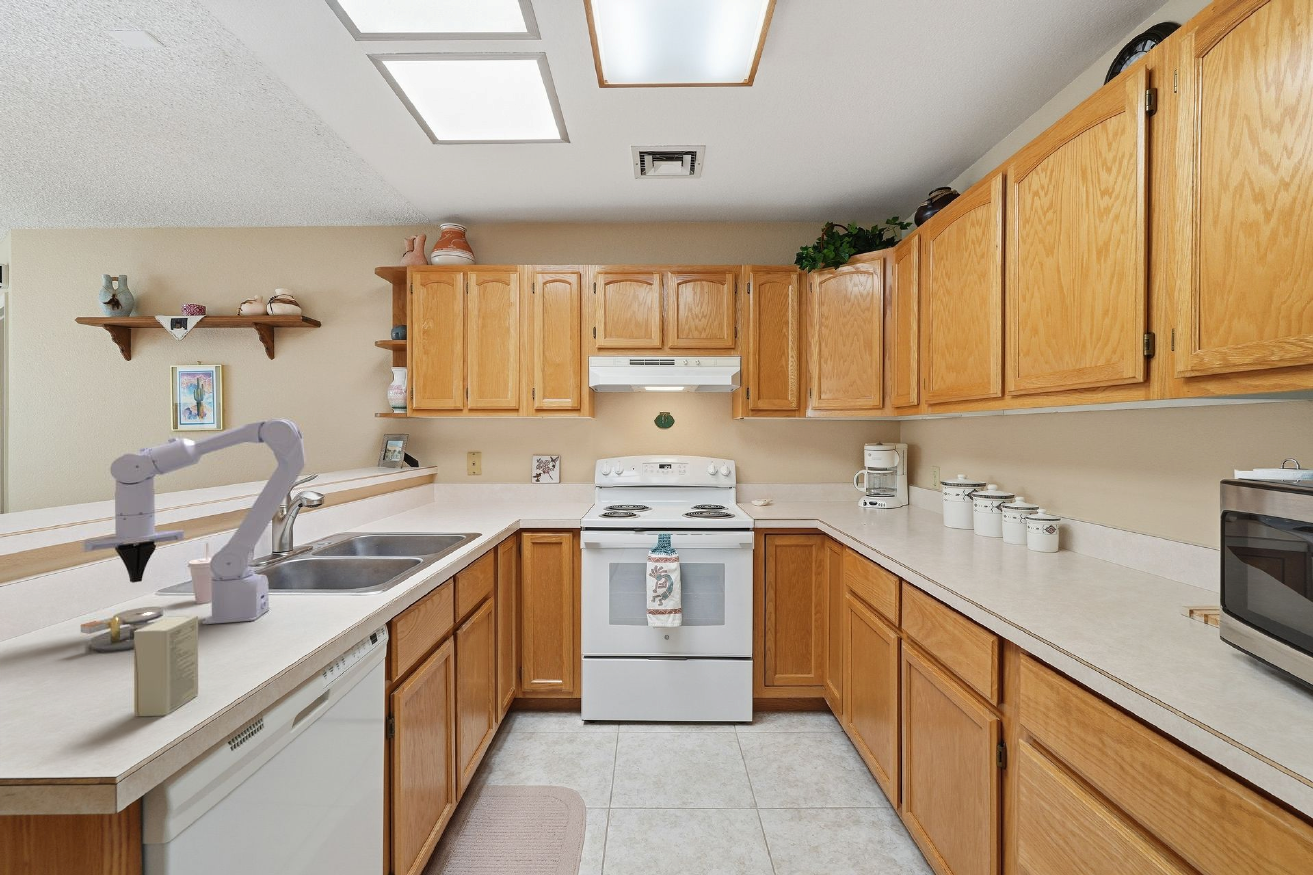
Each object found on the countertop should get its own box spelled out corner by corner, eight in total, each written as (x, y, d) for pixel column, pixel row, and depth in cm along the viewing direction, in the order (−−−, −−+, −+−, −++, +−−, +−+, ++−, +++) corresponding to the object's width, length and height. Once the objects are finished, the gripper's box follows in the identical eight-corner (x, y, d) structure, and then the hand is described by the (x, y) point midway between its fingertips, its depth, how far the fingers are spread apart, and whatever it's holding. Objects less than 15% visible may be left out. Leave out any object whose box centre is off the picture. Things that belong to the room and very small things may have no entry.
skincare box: (168, 696, 81) (168, 615, 81) (200, 695, 82) (200, 614, 82) (132, 718, 75) (131, 630, 75) (166, 716, 75) (165, 629, 75)
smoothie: (203, 606, 124) (202, 545, 124) (180, 604, 125) (180, 544, 125) (230, 597, 130) (230, 539, 130) (208, 596, 132) (208, 538, 132)
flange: (147, 611, 109) (147, 604, 109) (172, 614, 107) (172, 607, 107) (72, 631, 98) (72, 623, 98) (98, 635, 96) (98, 627, 96)
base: (198, 624, 112) (197, 596, 112) (158, 648, 100) (157, 617, 100) (121, 630, 109) (121, 601, 109) (70, 655, 96) (70, 623, 96)
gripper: (176, 507, 117) (176, 570, 117) (79, 516, 105) (79, 586, 105) (186, 510, 113) (187, 575, 113) (86, 519, 101) (87, 592, 101)
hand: (135, 581), depth 109 cm, fingers closed
